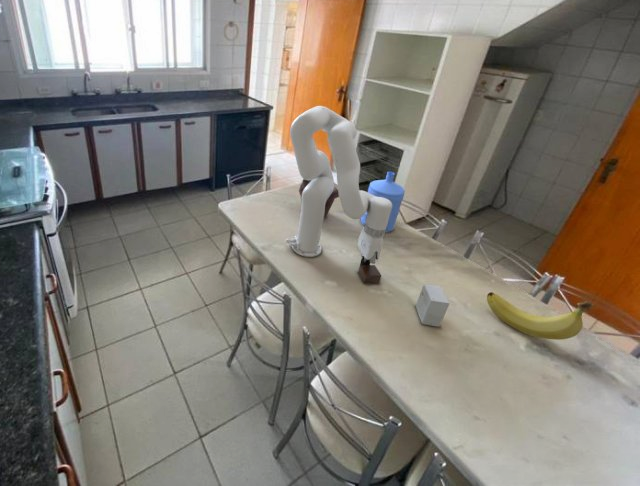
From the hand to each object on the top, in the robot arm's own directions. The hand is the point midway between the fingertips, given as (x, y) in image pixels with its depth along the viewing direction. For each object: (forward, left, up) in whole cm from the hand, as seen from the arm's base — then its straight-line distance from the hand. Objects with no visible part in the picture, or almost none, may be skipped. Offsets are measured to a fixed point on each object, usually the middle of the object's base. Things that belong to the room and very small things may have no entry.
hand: (364, 267), depth 131 cm
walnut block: (0, -5, -1) cm, 5 cm away
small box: (+13, -24, -1) cm, 27 cm away
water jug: (+20, +33, -1) cm, 39 cm away
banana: (+42, -29, -1) cm, 51 cm away
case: (-9, +42, -1) cm, 43 cm away
